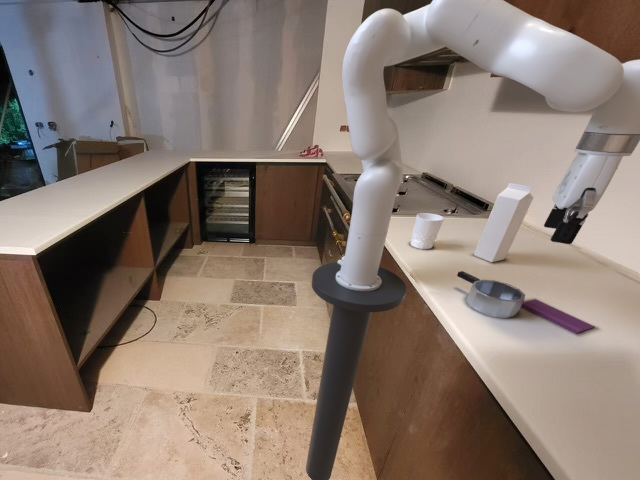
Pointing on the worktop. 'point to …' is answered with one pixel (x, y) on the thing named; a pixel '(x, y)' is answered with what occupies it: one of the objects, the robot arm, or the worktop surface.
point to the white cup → (426, 230)
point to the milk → (504, 222)
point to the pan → (493, 297)
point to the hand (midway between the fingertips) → (556, 234)
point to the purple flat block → (556, 316)
